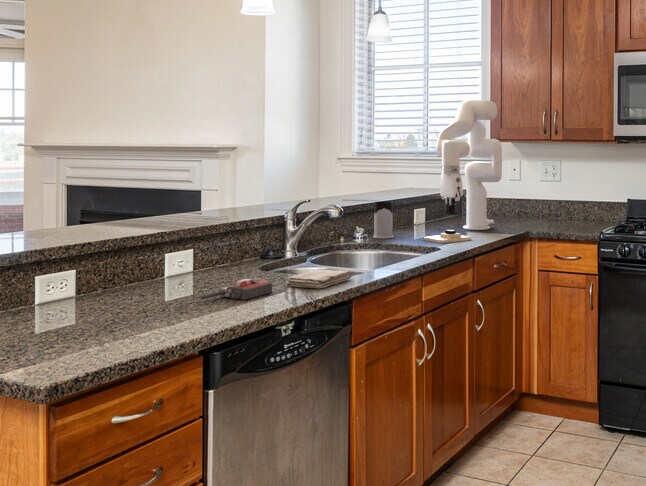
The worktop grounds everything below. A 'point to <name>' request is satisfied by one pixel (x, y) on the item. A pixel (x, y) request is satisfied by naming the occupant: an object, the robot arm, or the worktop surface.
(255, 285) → the walkie-talkie
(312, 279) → the washcloth
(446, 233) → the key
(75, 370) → the worktop surface
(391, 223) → the glass holder
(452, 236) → the beige flat slab
